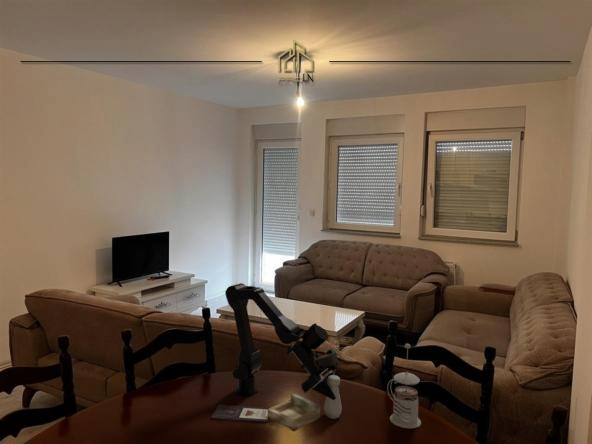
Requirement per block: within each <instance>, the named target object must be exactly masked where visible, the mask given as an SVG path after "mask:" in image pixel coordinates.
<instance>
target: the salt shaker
mask: <svg viewBox="0 0 592 444" xmlns="http://www.w3.org/2000/svg"><path fill="white" fill-rule="evenodd" d="M327 383H328V385H329V387H330V389H331V390H332V392H333V393H334V395H335V397H336V399H335V400H332V399H330V398H329V397H327V396H325V400H324V407H323V410H324V412H325V415H326V417H327V418H329V419H333V420H336V419H338V418H339V417H340V416H341V414H342V401H341V397H340V396H341V393H340V394H339V391H340V389H339V386H340V385H341V384H340V383H341V377H339V376H338V375H331V376H329V377H328V378H327Z"/></svg>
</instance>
